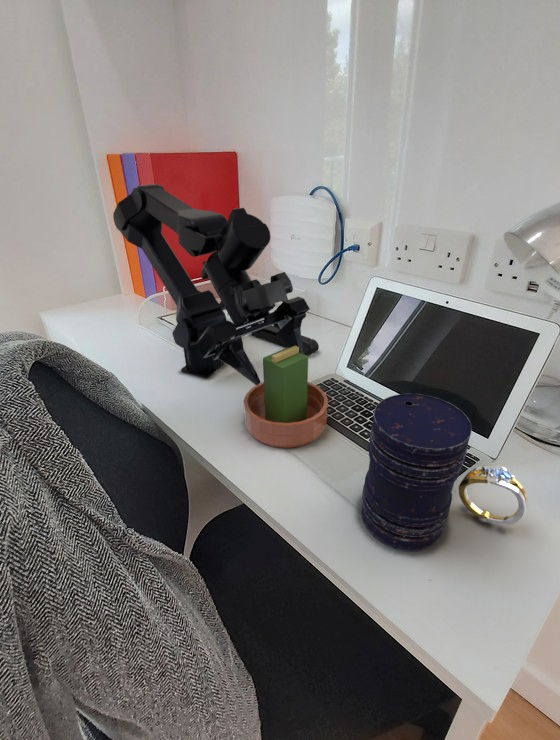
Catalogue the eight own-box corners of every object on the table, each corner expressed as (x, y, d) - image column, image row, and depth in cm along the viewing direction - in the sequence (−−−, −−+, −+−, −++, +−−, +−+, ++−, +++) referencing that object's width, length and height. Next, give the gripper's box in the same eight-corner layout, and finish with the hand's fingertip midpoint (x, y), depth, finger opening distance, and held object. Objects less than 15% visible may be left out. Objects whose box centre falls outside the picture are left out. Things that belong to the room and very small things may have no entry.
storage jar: (460, 544, 47) (494, 442, 39) (379, 559, 45) (397, 456, 38) (419, 482, 55) (440, 388, 47) (349, 493, 54) (359, 398, 46)
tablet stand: (318, 353, 88) (319, 340, 87) (311, 357, 86) (312, 344, 85) (257, 331, 98) (257, 320, 97) (250, 335, 97) (249, 323, 95)
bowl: (230, 434, 65) (228, 411, 63) (268, 393, 75) (267, 372, 73) (307, 458, 60) (308, 434, 57) (337, 411, 70) (339, 388, 67)
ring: (449, 512, 51) (463, 463, 47) (459, 497, 53) (474, 449, 49) (510, 544, 47) (531, 494, 43) (518, 526, 49) (540, 477, 45)
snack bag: (265, 420, 67) (262, 351, 61) (288, 407, 70) (288, 341, 63) (283, 432, 64) (282, 362, 58) (306, 419, 67) (308, 350, 61)
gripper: (199, 270, 53) (256, 376, 51) (302, 245, 63) (353, 333, 62) (176, 311, 62) (225, 402, 61) (270, 283, 72) (313, 361, 71)
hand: (281, 373), depth 63 cm, fingers open, 9 cm apart
